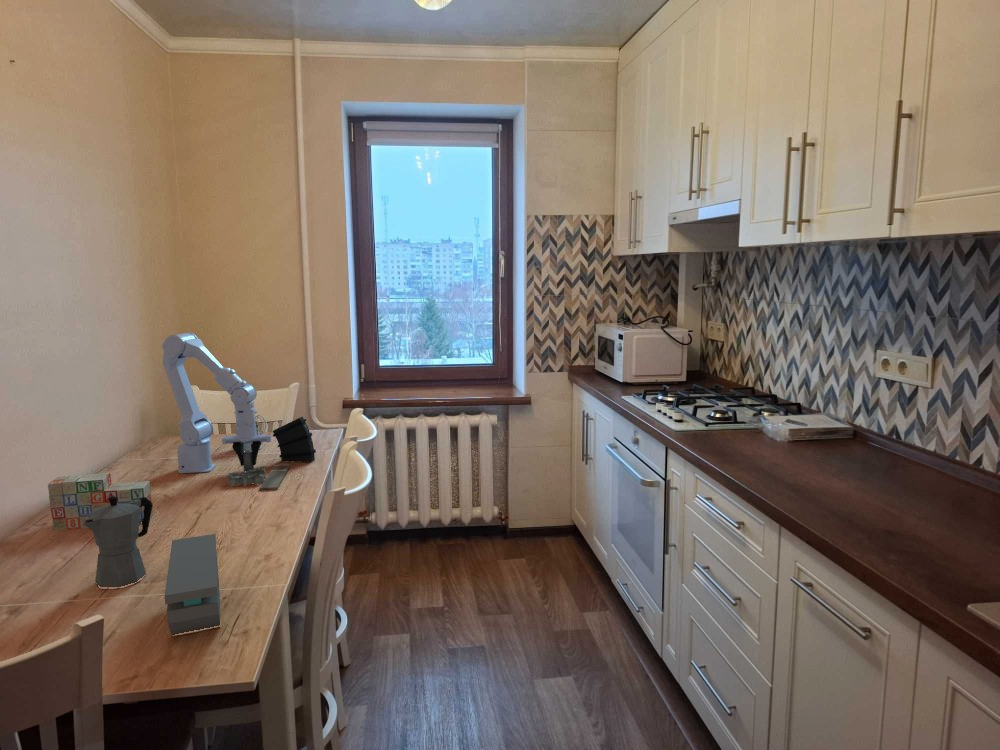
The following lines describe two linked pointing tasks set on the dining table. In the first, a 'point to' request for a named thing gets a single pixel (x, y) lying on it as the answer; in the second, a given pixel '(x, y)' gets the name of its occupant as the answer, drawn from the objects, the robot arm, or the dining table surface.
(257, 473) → the egg carton
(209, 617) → the grey slotted box
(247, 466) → the awl peg
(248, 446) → the french press
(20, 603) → the dining table surface
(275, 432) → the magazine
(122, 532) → the coffeepot
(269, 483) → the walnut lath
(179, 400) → the robot arm
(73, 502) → the stack of blocks
